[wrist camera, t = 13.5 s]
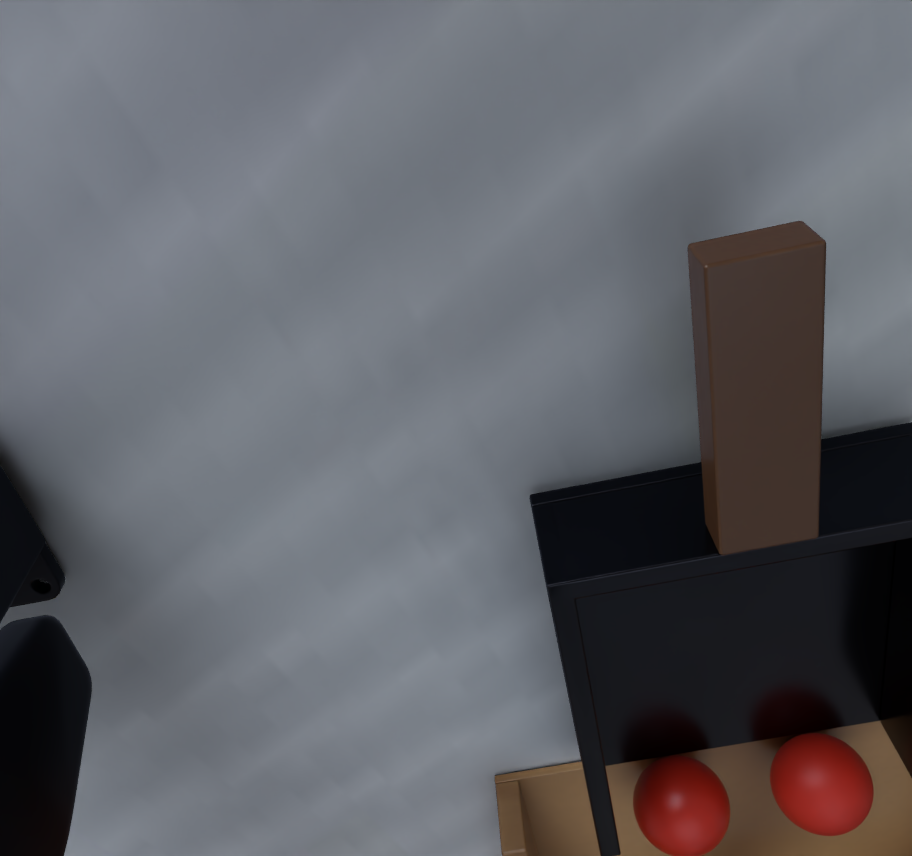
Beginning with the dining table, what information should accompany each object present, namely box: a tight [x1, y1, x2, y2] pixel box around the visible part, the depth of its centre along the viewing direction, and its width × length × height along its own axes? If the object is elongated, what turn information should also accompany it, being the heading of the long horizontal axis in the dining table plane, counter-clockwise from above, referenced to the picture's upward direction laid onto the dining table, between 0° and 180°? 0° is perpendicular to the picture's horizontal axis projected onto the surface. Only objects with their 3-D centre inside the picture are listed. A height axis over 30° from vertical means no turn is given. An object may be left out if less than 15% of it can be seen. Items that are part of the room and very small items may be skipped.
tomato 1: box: [633, 755, 730, 856], centre depth 27 cm, size 3×3×3 cm
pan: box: [530, 221, 912, 856], centre depth 22 cm, size 18×10×4 cm, turn 12°
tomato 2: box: [770, 733, 874, 836], centre depth 27 cm, size 3×3×3 cm
